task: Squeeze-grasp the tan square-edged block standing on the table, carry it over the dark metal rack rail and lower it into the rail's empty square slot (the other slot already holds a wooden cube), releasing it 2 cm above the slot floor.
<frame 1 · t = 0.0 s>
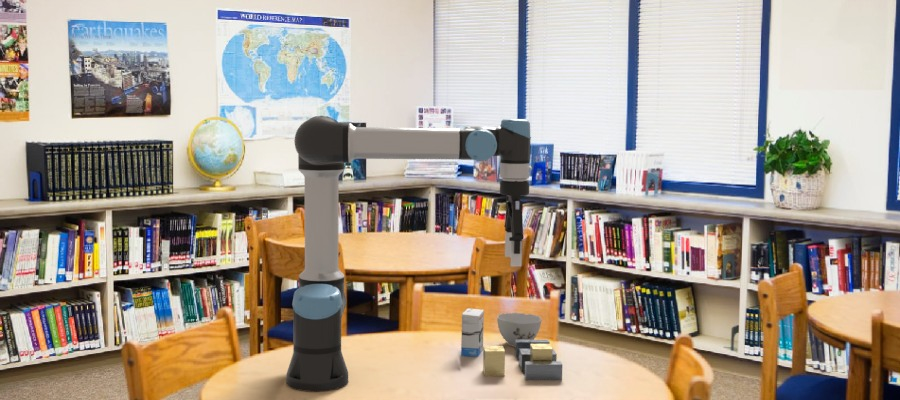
hand: (512, 261, 256), 28 cm above the table, fingers open, 13 cm apart
teacup: (518, 344, 283), on the table
wooden cube: (540, 373, 252), resting on rail
tan square-edged block: (493, 375, 252), on the table
ink box: (472, 354, 271), on the table
rail: (537, 368, 258), on the table
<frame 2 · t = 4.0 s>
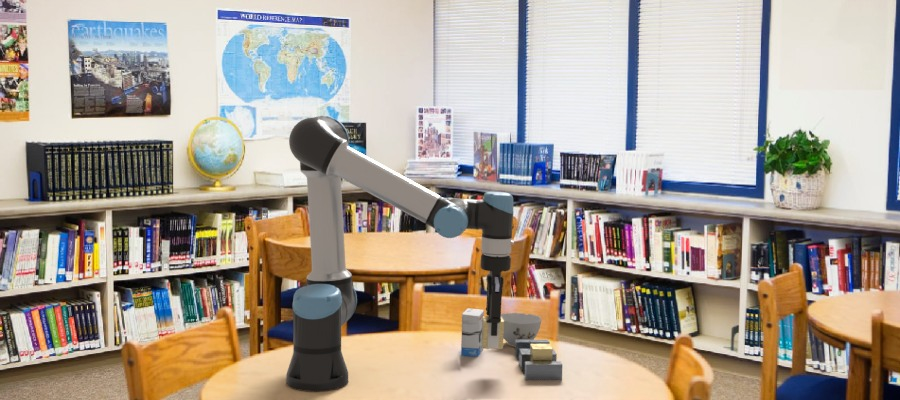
hand: (491, 344, 251), 8 cm above the table, fingers closed on tan square-edged block, 5 cm apart
tan square-edged block: (492, 346, 251), point 8 cm above the table, touching gripper
everything else where it was.
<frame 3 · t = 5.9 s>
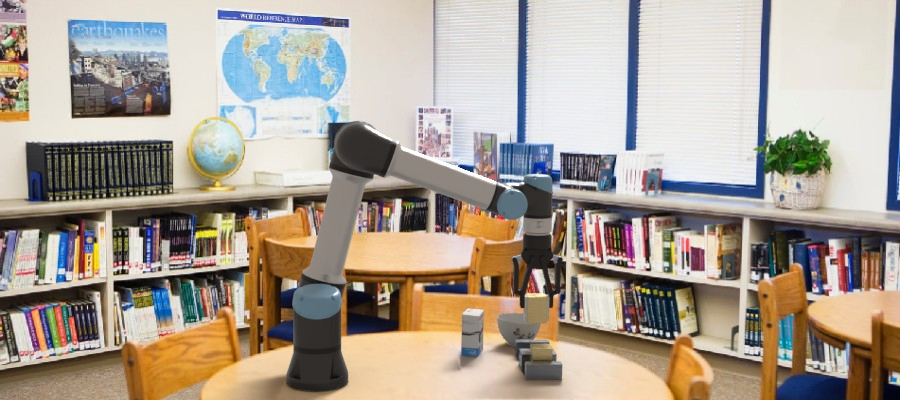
hand: (536, 319, 263), 11 cm above the table, fingers closed on tan square-edged block, 5 cm apart
tan square-edged block: (536, 321, 263), point 11 cm above the table, touching gripper
everything else where it was.
when the fingers open (1 cm above the table, at t = 7.8 s): tan square-edged block stays where it is, resting on rail.
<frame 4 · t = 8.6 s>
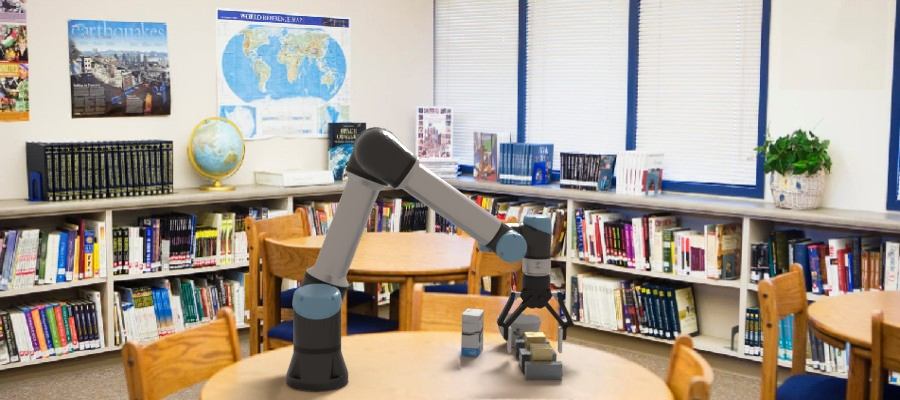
hand: (534, 351, 264), 3 cm above the table, fingers open, 13 cm apart
tan square-edged block: (534, 360, 264), resting on rail
everything else where it was.
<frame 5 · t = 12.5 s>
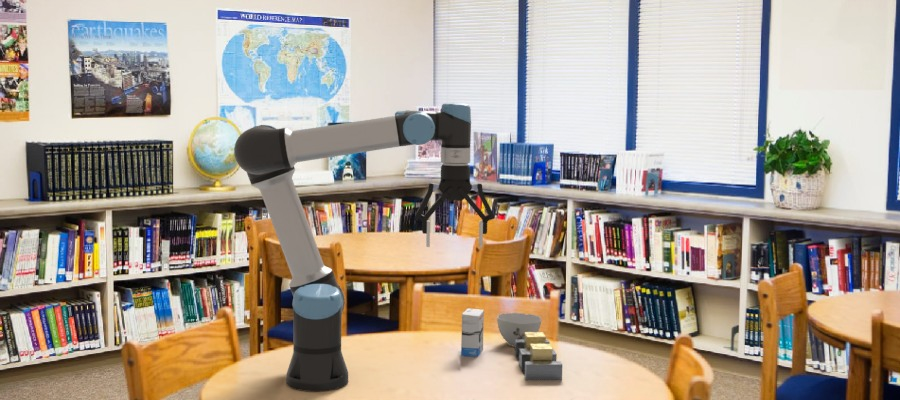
hand: (454, 246, 255), 32 cm above the table, fingers open, 13 cm apart
nothing on the table moved.
at the end: tan square-edged block 0.1 cm from the target spot on the rail, point 0.5 cm above the rail's base; tan square-edged block tilted 0°; the gripper is holding nothing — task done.
